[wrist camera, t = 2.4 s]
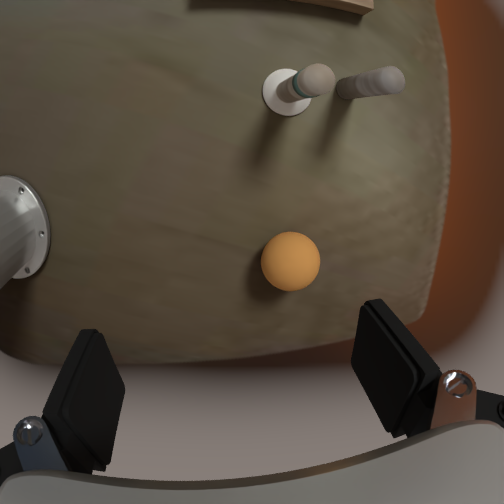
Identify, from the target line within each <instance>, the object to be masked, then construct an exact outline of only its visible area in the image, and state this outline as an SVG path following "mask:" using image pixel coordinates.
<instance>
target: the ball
mask: <svg viewBox="0 0 504 504" xmlns="http://www.w3.org/2000/svg"><path fill="white" fill-rule="evenodd" d="M261 267H262V271H263V273H264V276H265V277H266V279H267V280H268V281H269V282H270V283H271V284H272V285H273V286H275V287H276V288H278V289H281V290H285V291H296V290H300V289H303V288H305V287H306V286H308V285H309V284H310V283H311V282H312V281H313V280H314V279H315V277H316V276H317V274H318V271H319V267H320V256H319V252H318V249H317V247H316V246H315V244H314V243H313V242H312V241H311V240H310V239H309V238H308V237H306V236H305V235H303V234H300V233H297V232H284V233H281V234H278V235H276V236H275V237H273V238H272V239H271V240H270V241H269V242H268V243H267V244H266V246H265V248H264V250H263V252H262V256H261Z"/></svg>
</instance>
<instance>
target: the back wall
mask: <svg viewBox="0 0 504 504" xmlns="http://www.w3.org/2000/svg"><path fill="white" fill-rule="evenodd" d="M289 1H296V2H303V3H309V4H315V5H321V6H326V7H331V8H335V9H340V10H344V11H349V12H353V13H357V14H360V15H365V14H366V13H368V12H370V11H372V10H374V4H373V0H289Z"/></svg>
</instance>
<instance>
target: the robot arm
mask: <svg viewBox="0 0 504 504" xmlns="http://www.w3.org/2000/svg"><path fill="white" fill-rule="evenodd" d="M50 236H51V234H50V224H49V220H48V215H47V212H46V210H45V207H44V204H43V203H42V201H41V199H40V197H39V195H38V194H37V193H36V192H35V190H34V189H33V188H32V187H31V186H30V185H29V184H28V183H27V182H26V181H24V180H22V179H20V178H18V177H15V176H12V175H4V176H0V289H1V288H2V287H3V286H4V285H5V284H6V283H7V282H8V281H9V280H10V279H11V278H15V279H21V278H26V277H29V276H31V275H32V274H34V273H35V272H36V271H37V270H38V269H39V268H40V267H41V266H42V264H43V263H44V261H45V259H46V257H47V255H48V251H49V247H50ZM351 365H352V368H353V370H354V372H355V373H356V375H357V377H358V379H359V381H360V383H361V385H362V386H363V388H364V390H365V392H366V394H367V396H368V398H369V400H370V402H371V403H372V405H373V407H374V409H375V411H376V413H377V415H378V417H379V419H380V421H381V423H382V425H383V427H384V429H385V430H386V431H387V432H388V433H389V432H391V434H392V436H393V438H397V437H399V436H402V435H404V434H406V436H407V439H404V440H401V441H399V442H396V443H393V444H390V445H387V446H384V447H382V448H378V449H376V450H372V451H369V452H366V453H363V454H360V455H356V456H353V457H350V458H346V459H343V460H338V461H335V462H331V463H327V464H322V465H318V466H313V467H309V468H304V469H299V470H294V471H288V472H283V473H276V474H270V475H263V476H255V477H246V478H236V479H224V480H205V481H156V480H139V479H127V478H116V477H107V476H98V475H92V472H93V470H97V471H103V472H104V471H105V470H106V465H108V464H110V462H111V457H112V451H113V446H114V441H115V436H116V431H117V426H118V421H119V416H120V411H121V407H122V402H123V399H124V394H125V386H124V383H123V381H122V378H121V376H120V374H119V372H118V370H117V367H116V365H115V363H114V361H113V358H112V356H111V353H110V351H109V349H108V346H107V344H106V341H105V339H104V336H103V334H102V333H99V332H98V331H97V330H96V329H83V330H81V331H80V333H79V335H78V336H77V338H76V340H75V342H74V344H73V346H72V348H71V350H70V352H69V354H68V356H67V358H66V360H65V362H64V364H63V367H62V369H61V371H60V373H59V375H58V377H57V380H56V382H55V384H54V386H53V389H52V391H51V393H50V395H49V397H48V400H47V402H46V404H45V407H44V409H43V415H42V417H41V418H40V417H37V416H29V417H26V418H24V419H22V420H20V421H19V422H18V424H17V425H16V427H15V428H14V431H13V440H14V442H12V443H10V444H8V445H7V446H5V447H3V448H1V449H0V504H504V396H502V395H498V394H494V393H489V392H485V391H481V390H477V387H476V382H475V381H474V379H473V378H472V377H471V375H470V374H468V373H466V372H465V371H461V370H454V369H453V370H448V371H446V372H444V373H443V374H442V372H441V371H440V370H439V369H440V368H439V367H438V366H437V364H436V363H435V362H434V361H433V359H432V358H431V357H430V356H429V354H428V353H427V352H426V351H425V350H424V348H423V347H422V346H421V345H420V344H419V342H418V341H417V340H416V339H415V337H414V336H413V335H412V334H411V333H410V331H409V330H408V329H407V328H406V327H405V326H404V324H403V323H402V322H401V321H400V320H399V319H398V317H397V316H396V315H395V314H394V313H393V312H392V311H391V309H390V308H389V307H388V306H387V305H386V304H385V303H384V301H383V300H382V299H374V300H369V301H366V302H365V303H364V305H363V306H361V308H360V313H359V319H358V325H357V331H356V336H355V342H354V348H353V352H352V357H351Z"/></svg>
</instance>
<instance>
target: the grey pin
mask: <svg viewBox="0 0 504 504" xmlns="http://www.w3.org/2000/svg"><path fill="white" fill-rule="evenodd" d="M404 87H405V78H404V76H403V74H402V72H401V71H400V70H399V69H398V68H396V67H394V66H388V67H384V68H380V69H376V70H372V71H368V72H364V73H361V74H357V75H354V76H350V77H347V78H343V79H341V80H339V81H338V82H337V85H336V90H337V93H338V94H339V96H340V97H342V98H343V99H347V100H348V99H355V98H363V97H370V96H379V95H388V94H398V93H401V92H402V91H403V90H404Z"/></svg>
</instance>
